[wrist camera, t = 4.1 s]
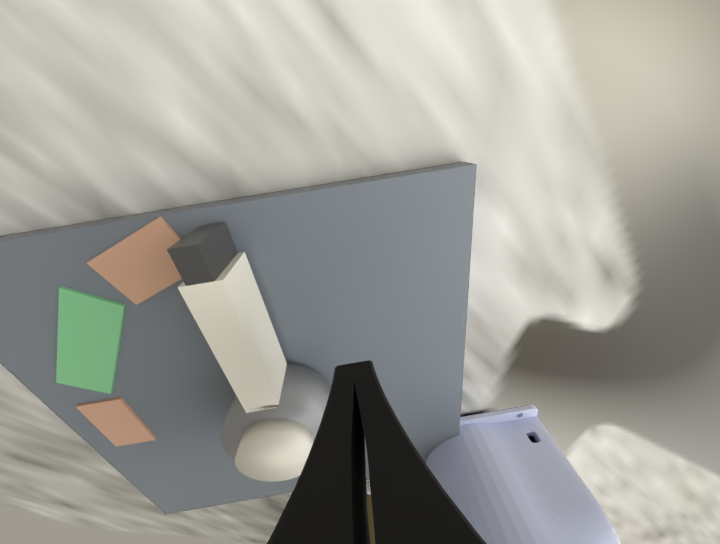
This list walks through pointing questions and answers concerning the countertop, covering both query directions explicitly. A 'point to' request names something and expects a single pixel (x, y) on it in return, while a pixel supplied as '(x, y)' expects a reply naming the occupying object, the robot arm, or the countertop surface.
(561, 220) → the countertop surface
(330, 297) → the board
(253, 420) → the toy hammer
